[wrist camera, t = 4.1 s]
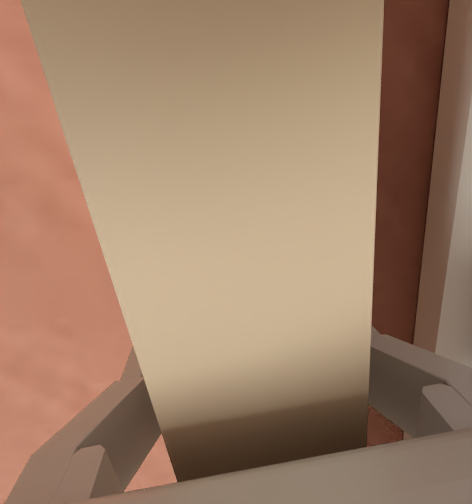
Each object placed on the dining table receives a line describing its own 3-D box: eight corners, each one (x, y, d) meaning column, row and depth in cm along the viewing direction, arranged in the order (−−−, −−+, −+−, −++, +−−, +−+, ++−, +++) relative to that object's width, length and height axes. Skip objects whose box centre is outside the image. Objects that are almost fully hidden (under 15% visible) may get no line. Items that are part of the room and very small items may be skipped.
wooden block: (105, -82, 7) (-355, -1084, 1) (255, -100, 7) (448, -1079, 1) (233, 494, 15) (249, 711, 9) (302, 481, 15) (360, 687, 9)
